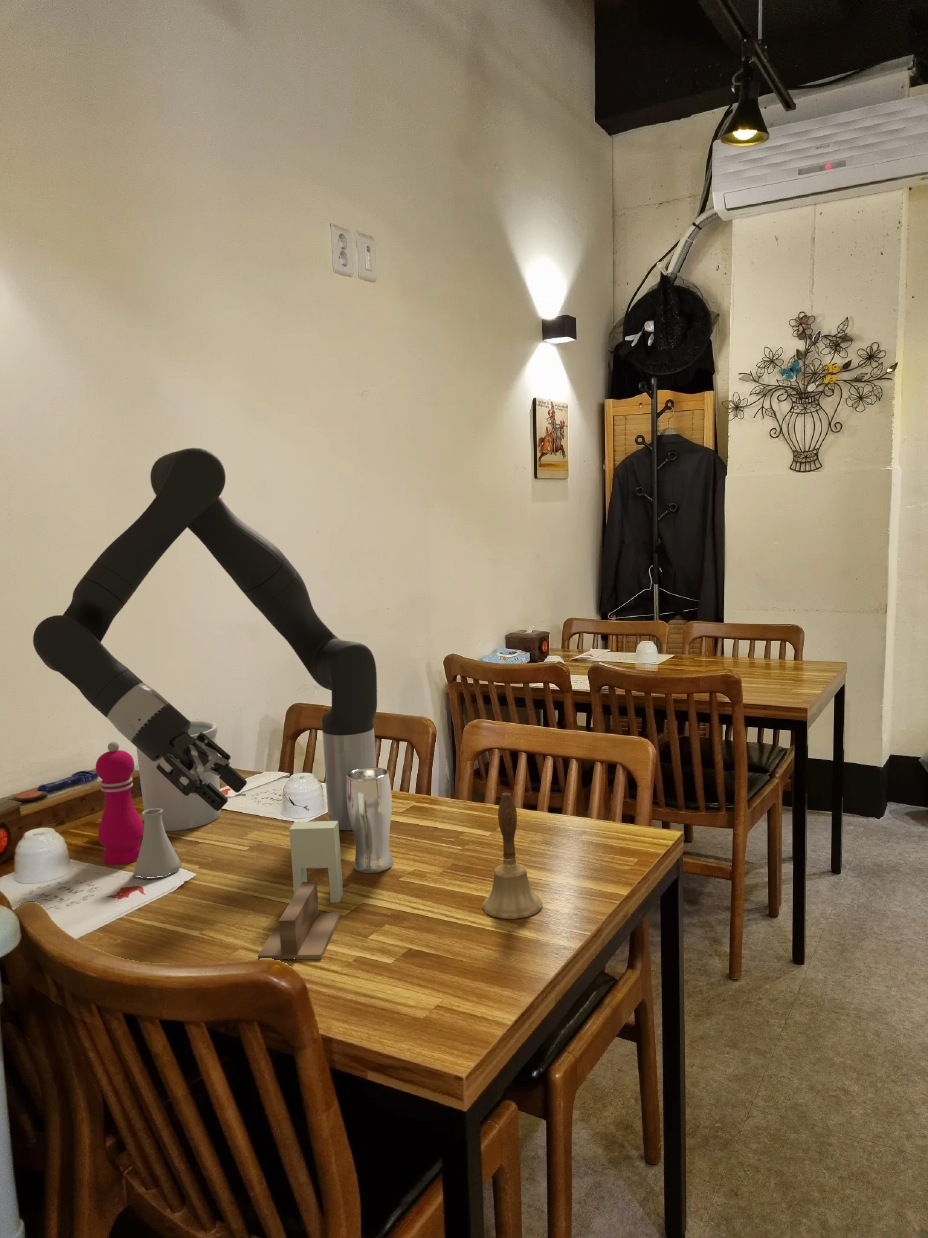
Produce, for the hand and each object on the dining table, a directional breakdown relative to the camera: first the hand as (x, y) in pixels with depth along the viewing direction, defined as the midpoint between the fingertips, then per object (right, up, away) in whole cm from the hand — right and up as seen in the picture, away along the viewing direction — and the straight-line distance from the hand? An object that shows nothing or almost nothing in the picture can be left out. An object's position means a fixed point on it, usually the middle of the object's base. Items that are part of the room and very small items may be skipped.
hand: (233, 796), depth 128 cm
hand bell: (+40, -14, -5) cm, 43 cm away
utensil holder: (-20, -13, +41) cm, 47 cm away
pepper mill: (-24, -15, +21) cm, 35 cm away
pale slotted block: (+12, -15, +1) cm, 19 cm away
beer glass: (+19, -14, +12) cm, 26 cm away
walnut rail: (+12, -16, -11) cm, 23 cm away
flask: (-16, -15, +15) cm, 27 cm away
